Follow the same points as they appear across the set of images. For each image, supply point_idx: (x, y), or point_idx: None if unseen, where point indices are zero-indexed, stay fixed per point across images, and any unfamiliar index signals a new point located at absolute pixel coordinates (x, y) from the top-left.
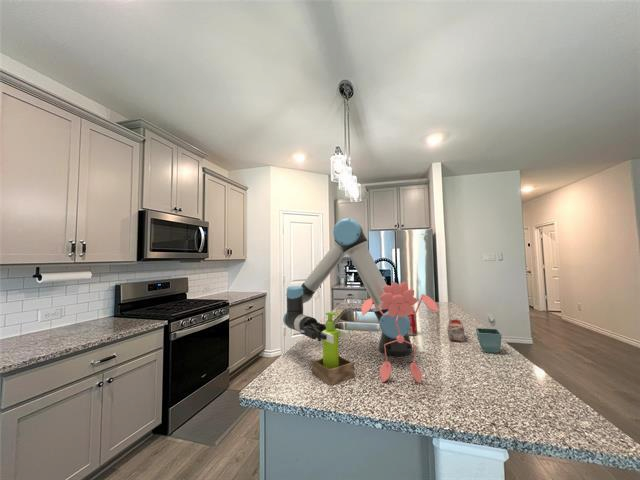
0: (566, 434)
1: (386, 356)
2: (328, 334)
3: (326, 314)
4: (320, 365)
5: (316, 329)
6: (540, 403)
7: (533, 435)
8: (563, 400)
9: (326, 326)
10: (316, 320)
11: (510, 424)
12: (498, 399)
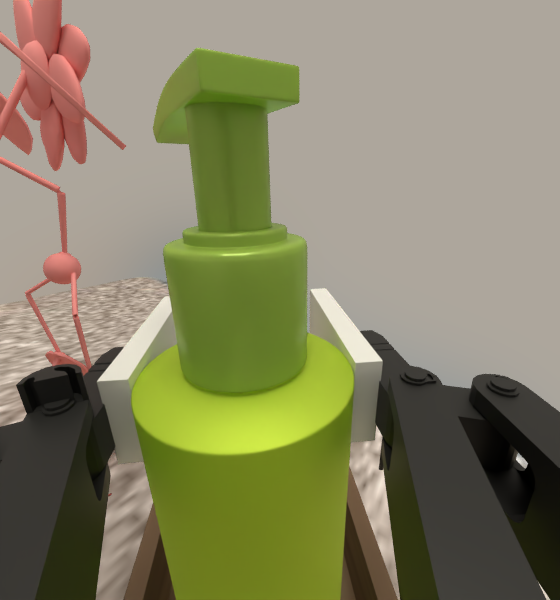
0: (143, 288)
1: (88, 360)
2: (338, 305)
3: (289, 100)
4: (384, 567)
5: (466, 535)
6: (69, 304)
7: (168, 293)
8: (42, 300)
9: (306, 298)
10: None
11: (159, 301)
12: (85, 319)
